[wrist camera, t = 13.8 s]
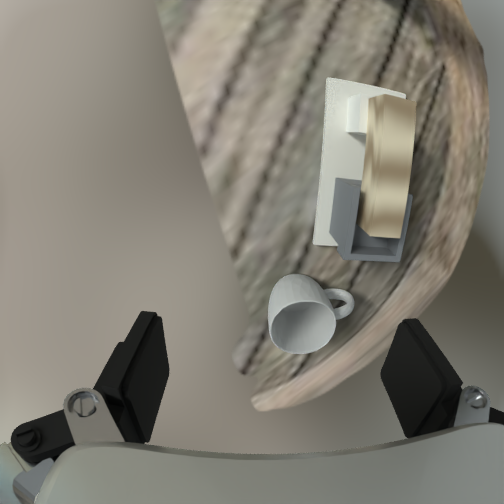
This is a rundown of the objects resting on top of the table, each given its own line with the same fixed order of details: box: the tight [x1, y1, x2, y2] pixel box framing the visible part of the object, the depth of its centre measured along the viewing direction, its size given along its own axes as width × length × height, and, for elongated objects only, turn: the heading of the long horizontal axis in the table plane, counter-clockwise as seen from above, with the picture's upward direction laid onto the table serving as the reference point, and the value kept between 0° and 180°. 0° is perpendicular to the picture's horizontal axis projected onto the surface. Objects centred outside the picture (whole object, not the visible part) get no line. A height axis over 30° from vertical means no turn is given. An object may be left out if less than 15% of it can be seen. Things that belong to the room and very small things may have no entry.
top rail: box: [356, 94, 416, 238], centre depth 31 cm, size 16×4×5 cm, turn 177°
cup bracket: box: [313, 77, 413, 262], centre depth 35 cm, size 24×12×9 cm, turn 177°
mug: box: [268, 274, 354, 354], centre depth 42 cm, size 13×9×10 cm
